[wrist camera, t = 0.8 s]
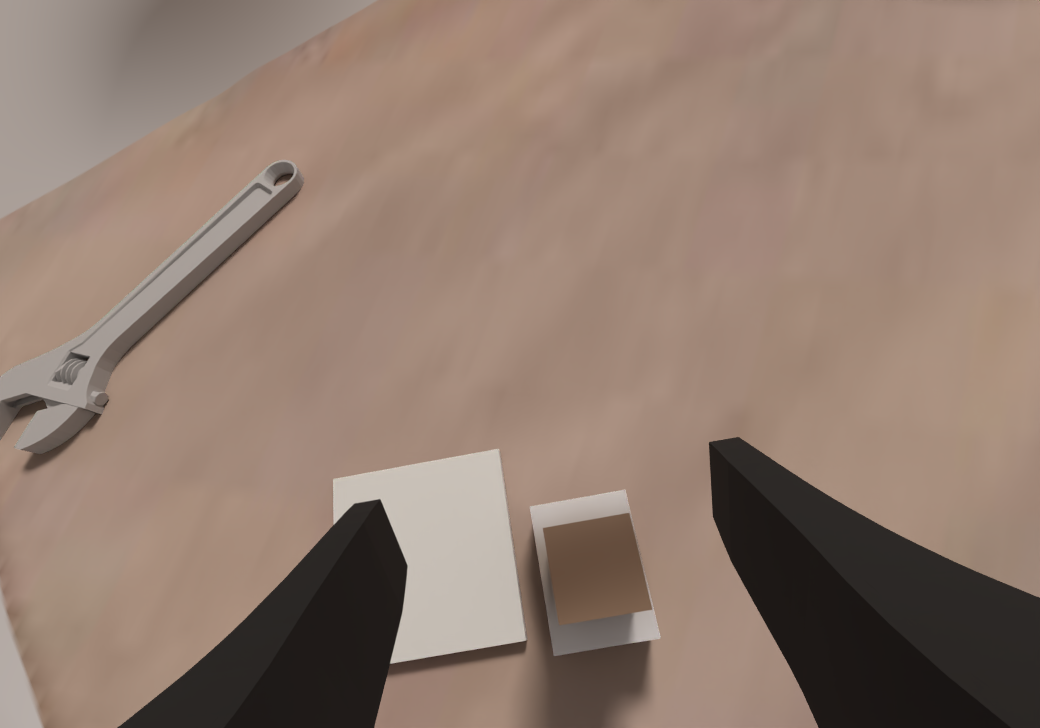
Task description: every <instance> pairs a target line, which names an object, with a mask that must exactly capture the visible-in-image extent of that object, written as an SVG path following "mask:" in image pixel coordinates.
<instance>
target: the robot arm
mask: <svg viewBox="0 0 1040 728" xmlns="http://www.w3.org/2000/svg"><path fill="white" fill-rule="evenodd" d="M709 452H710V470H711V489H712V508H713V518H714V521H715V523H716V526H717V528H718V531H719V533H720V536H721V538H722V541H723V543H724V545H725V548H726V550H727V552H728V555H729V557H730V560H731V562H732V564H733V565H734V567H735V569H736V571H737V573H738V575H739V576H740V578H741V580H742V582H743V584H744V586H745V587H746V589H747V591H748V593H749V595H750V596H751V598H752V600H753V602H754V604H755V605H756V607H757V609H758V611H759V612H760V614H761V616H762V618H763V620H764V621H765V623H766V625H767V627H768V629H769V630H770V632H771V634H772V636H773V638H774V639H775V641H776V643H777V645H778V646H779V648H780V650H781V652H782V654H783V655H784V657H785V659H786V661H787V663H788V664H789V666H790V668H791V670H792V672H793V674H794V676H795V678H796V680H797V682H798V684H799V686H800V688H801V690H802V692H803V694H804V696H805V698H806V701H807V703H808V705H809V707H810V709H811V712H812V714H813V716H814V718H815V721H816V723H817V725H818V727H819V728H1040V598H1039V597H1036V596H1034V595H1031V594H1029V593H1026V592H1024V591H1022V590H1019V589H1017V588H1014V587H1012V586H1010V585H1007V584H1005V583H1002V582H1000V581H997V580H995V579H993V578H990V577H988V576H985V575H983V574H981V573H978V572H976V571H974V570H972V569H969V568H967V567H965V566H963V565H960V564H958V563H956V562H954V561H951V560H949V559H947V558H945V557H943V556H941V555H939V554H937V553H935V552H933V551H931V550H928V549H926V548H924V547H922V546H920V545H918V544H916V543H914V542H912V541H910V540H908V539H906V538H904V537H902V536H900V535H898V534H896V533H894V532H892V531H890V530H888V529H886V528H884V527H883V526H881V525H879V524H877V523H875V522H874V521H872V520H870V519H868V518H866V517H865V516H863V515H861V514H859V513H857V512H856V511H854V510H852V509H850V508H848V507H847V506H845V505H843V504H842V503H840V502H838V501H837V500H835V499H833V498H831V497H830V496H828V495H827V494H825V493H823V492H822V491H820V490H818V489H817V488H815V487H814V486H812V485H810V484H809V483H807V482H806V481H804V480H802V479H801V478H799V477H798V476H796V475H795V474H793V473H792V472H790V471H789V470H787V469H786V468H784V467H783V466H781V465H780V464H778V463H777V462H775V461H773V460H772V459H771V458H769V457H768V456H766V455H765V454H763V453H762V452H760V451H759V450H757V449H756V448H754V447H753V446H751V445H750V444H748V443H747V442H745V441H744V440H742V439H741V438H739V437H736V438H731V439H725V440H719V441H713V442H709ZM407 569H408V565H407V563H406V560H405V558H404V555H403V553H402V551H401V548H400V546H399V543H398V541H397V538H396V536H395V533H394V531H393V529H392V526H391V524H390V521H389V519H388V516H387V514H386V511H385V509H384V507H383V504H382V502H381V499H378V500H372V501H366V502H360V503H354V504H353V505H352V506H351V507H350V508H349V509H348V510H347V511H346V512H345V513H344V514H343V515H342V517H341V518H340V519H339V520H338V521H337V522H336V523H335V524H334V525H333V526H332V527H331V529H330V530H329V531H328V532H327V533H326V534H325V535H324V536H323V537H322V539H321V540H320V541H319V542H318V543H317V544H316V545H315V546H314V547H313V548H312V550H311V551H310V552H309V553H308V554H307V555H306V556H305V557H304V558H303V559H302V560H301V562H300V563H299V564H298V565H297V566H296V567H295V568H294V569H293V570H292V571H291V573H290V574H289V575H288V576H287V577H286V578H285V579H284V580H283V581H282V582H281V583H280V584H279V585H278V586H277V587H276V588H275V589H274V590H273V591H272V592H271V593H270V594H269V595H268V596H267V597H266V598H265V599H264V600H263V601H262V602H261V603H260V604H259V605H258V606H257V607H256V608H255V609H254V611H253V612H252V613H251V614H250V615H249V616H248V617H247V618H246V619H245V620H244V621H243V622H242V623H241V624H239V625H238V626H237V627H236V628H235V629H234V630H233V631H232V632H231V633H230V634H229V635H228V636H227V637H226V638H225V639H224V640H222V641H221V642H220V643H219V644H218V645H217V646H216V647H215V648H214V649H212V650H211V651H210V652H209V653H208V654H207V655H206V656H205V657H203V658H202V659H201V660H200V661H199V662H198V663H197V664H196V665H194V666H193V667H192V668H191V669H190V670H189V671H188V672H186V673H185V674H184V675H183V676H182V677H180V678H179V679H178V680H177V681H175V682H174V683H173V684H172V685H171V686H169V687H168V688H167V689H166V690H164V691H163V692H162V693H161V694H159V695H158V696H157V697H156V698H154V699H153V700H152V701H151V702H149V703H148V704H147V705H146V706H144V707H143V708H142V709H141V710H139V711H138V712H137V713H136V714H134V715H133V716H132V717H131V718H129V719H128V720H127V721H126V722H124V723H123V724H122V725H120V726H119V727H118V728H374V726H375V721H376V717H377V713H378V709H379V705H380V701H381V697H382V693H383V689H384V685H385V681H386V677H387V673H388V669H389V665H390V661H391V657H392V653H393V649H394V645H395V641H396V637H397V633H398V629H399V625H400V620H401V616H402V612H403V604H404V596H405V588H406V579H407Z"/></svg>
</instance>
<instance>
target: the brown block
mask: <svg viewBox="0 0 1040 728" xmlns="http://www.w3.org/2000/svg"><path fill="white" fill-rule="evenodd" d="M530 511H531V518H532V524H533V530H534V536H535V542H536V549H537V555H538V561H539V567H540V573H541V580H542V586H543V592H544V598H545V604H546V611H547V617H548V623H549V629H550V635H551V642H552V648H553V654H554V656H559V655H564V654H570V653H576V652H582V651H588V650H594V649H600V648H606V647H612V646H618V645H624V644H630V643H636V642H642V641H648V640H654V639H660V638H661V637H660V633H659V629H658V624H657V620H656V616H655V612H654V608H653V604H652V599H651V595H650V591H649V587H648V583H647V578H646V574H645V570H644V566H643V562H642V558H641V553H640V549H639V545H638V541H637V537H636V533H635V528H634V524H633V520H632V516H631V512H630V507H629V503H628V499H627V495H626V491H625V490H620V491H615V492H609V493H603V494H598V495H592V496H587V497H581V498H575V499H570V500H564V501H559V502H553V503H547V504H542V505H536V506H531V507H530Z"/></svg>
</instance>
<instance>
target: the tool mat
mask: <svg viewBox="0 0 1040 728" xmlns="http://www.w3.org/2000/svg"><path fill="white" fill-rule="evenodd" d="M378 499H381V502H382V504H383V507H384V509H385V511H386V514H387V516H388V519H389V521H390V524H391V526H392V529H393V531H394V533H395V536H396V538H397V541H398V543H399V546H400V548H401V551H402V553H403V555H404V558H405V560H406V563H407V565H408V569H407V579H406V588H405V596H404V604H403V612H402V616H401V620H400V625H399V629H398V633H397V637H396V641H395V645H394V649H393V653H392V657H391V661H390V664H391V663H397V662H403V661H409V660H415V659H421V658H427V657H433V656H439V655H445V654H451V653H456V652H462V651H468V650H474V649H480V648H486V647H492V646H498V645H504V644H510V643H516V642H522V641H526V640H527V634H526V627H525V620H524V613H523V606H522V599H521V592H520V585H519V578H518V571H517V564H516V558H515V551H514V544H513V537H512V530H511V523H510V516H509V509H508V502H507V495H506V488H505V481H504V474H503V468H502V461H501V454H500V450H499V449H495V450H489V451H484V452H478V453H473V454H467V455H462V456H456V457H451V458H446V459H440V460H435V461H429V462H424V463H418V464H413V465H407V466H402V467H396V468H391V469H386V470H380V471H375V472H369V473H364V474H358V475H353V476H347V477H342V478H337V479H333V511H334V524H335V523H336V522H337V521H338V520H339V519H340V518H341V517H342V515H343V514H344V513H345V512H346V511H347V510H348V509H349V508H350V507H351V506H352V505H353V504H354V503H360V502H366V501H372V500H378Z"/></svg>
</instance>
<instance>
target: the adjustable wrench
mask: <svg viewBox="0 0 1040 728" xmlns="http://www.w3.org/2000/svg"><path fill="white" fill-rule="evenodd" d="M286 174H293V177H292V178H291V179H290V180H289V181H288V182H286V183H285V184H282V185H279V186H274V184H275V182H276V181H277V180H278V179H279V178H280V177H281V176H284V175H286ZM303 184H304V178H303V175H302V174H301V172H300V171H299V169H298V168H297V166H296V165H295V164H294V163H293V162H292V161H289V160H280V161H276V162H274V163H272V164H270V165H269V166H267V167H266V168H265V169H264V170H263V171H262V172H261V173H260V174H259V175H258V176H257V177H255V178H254V179H253V180H252V181H251V182H250V183H249V184H248V185H247V186H246V187H245V188H243V189H242V190H241V191H240V192H239V193H238V194H237V195H236V196H235V197H234V198H233V199H231V200H230V201H229V202H228V203H227V204H226V205H225V206H224V207H223V208H222V209H221V210H219V211H218V212H217V213H216V214H215V215H214V216H213V217H212V218H211V219H210V220H209V221H207V222H206V223H205V224H204V225H203V226H202V227H201V228H200V229H199V230H198V231H197V232H196V233H194V234H193V235H192V236H191V237H190V238H189V239H188V240H187V241H186V242H185V243H184V244H182V245H181V246H180V247H179V248H178V249H177V250H176V251H175V252H174V253H173V254H172V255H170V256H169V257H168V258H167V259H166V260H165V261H164V262H163V263H162V264H161V265H160V266H158V267H157V268H156V269H155V270H154V271H153V272H152V273H151V274H150V275H149V276H148V277H146V278H145V279H144V280H143V281H142V282H141V283H140V284H139V285H138V286H137V287H136V288H134V289H133V290H132V291H131V292H130V293H129V294H128V295H127V296H126V297H125V298H124V299H123V300H121V301H120V302H119V303H118V304H117V305H116V306H115V307H114V308H113V309H112V310H111V311H109V312H108V313H107V314H106V315H105V316H104V317H103V318H102V319H101V320H100V321H99V322H97V323H96V324H95V325H94V326H92V327H91V328H90V329H89V330H87V331H86V332H84V333H82V334H81V335H79V336H78V337H76V338H74V339H72V340H70V341H69V342H67V343H65V344H63V345H61V346H59V347H57V348H55V349H53V350H51V351H49V352H47V353H45V354H43V355H40V356H38V357H36V358H33V359H31V360H29V361H26V362H24V363H22V364H19V365H17V366H15V367H13V368H12V369H10V370H8V371H7V372H6V373H4V374H3V375H2V376H0V440H1V438H2V437H3V435H4V434H5V432H6V431H7V429H8V428H9V426H10V424H11V423H12V421H13V420H14V418H15V417H16V415H17V413H18V412H19V410H20V409H21V407H22V406H25V405H29V404H32V403H35V402H38V401H42V400H44V401H45V403H46V406H47V409H43V410H39V411H37V412H36V413H35V415H34V416H33V418H32V420H31V421H30V423H29V424H28V426H27V427H26V429H25V431H24V432H23V434H22V435H21V437H20V438H19V440H18V442H17V443H16V445H15V446H14V448H17V449H20V450H24V451H29V452H33V453H37V454H43V453H45V452H48V451H50V450H52V449H54V448H56V447H58V446H59V445H61V444H63V443H64V442H66V441H67V440H69V439H70V438H71V437H73V436H74V435H75V434H76V433H77V432H78V431H79V430H80V429H82V428H83V427H84V426H85V425H86V424H87V423H88V421H89V420H90V419H91V418H92V417H93V416H94V415H95V413H98V414H102V413H103V410H104V404H105V403H106V402H107V401H108V395H107V394H106V393H105V389H106V387H107V384H108V381H109V379H110V376H111V374H112V372H113V370H114V368H115V366H116V364H117V363H118V362H119V360H120V359H121V358H122V356H123V355H124V354H125V353H126V352H127V351H128V349H129V348H130V347H131V346H132V345H133V344H134V343H136V342H137V341H138V340H139V339H140V338H141V337H142V336H143V335H144V334H145V333H146V332H147V331H148V330H150V329H151V328H152V327H153V326H154V325H155V324H156V323H157V322H158V321H159V320H160V319H161V318H163V317H164V316H165V315H166V314H167V313H168V312H169V311H170V310H171V309H172V308H173V307H174V306H175V305H177V304H178V303H179V302H180V301H181V300H182V299H183V298H184V297H185V296H186V295H187V294H188V293H190V292H191V291H192V290H193V289H194V288H195V287H196V286H197V285H198V284H199V283H200V282H201V281H202V280H204V279H205V278H206V277H207V276H208V275H209V274H210V273H211V272H212V271H213V270H214V269H215V268H217V267H218V266H219V265H220V264H221V263H222V262H223V261H224V260H225V259H226V258H227V257H228V256H229V255H231V254H232V253H233V252H234V251H235V250H236V249H237V248H238V247H239V246H240V245H241V244H242V243H244V242H245V241H246V240H247V239H248V238H249V237H250V236H251V235H252V234H253V233H254V232H255V231H256V230H258V229H259V228H260V227H261V226H262V225H263V224H264V223H265V222H266V221H267V220H268V219H269V218H270V217H272V216H273V215H274V214H275V213H276V212H277V211H278V210H279V209H280V208H281V207H282V206H283V205H285V204H286V203H287V202H288V201H289V200H290V199H291V198H292V197H293V196H294V195H295V194H296V193H297V192H299V190H300V189H301V188H302V186H303ZM86 359H89V360H88V361H85V360H86ZM93 412H94V413H93Z"/></svg>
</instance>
